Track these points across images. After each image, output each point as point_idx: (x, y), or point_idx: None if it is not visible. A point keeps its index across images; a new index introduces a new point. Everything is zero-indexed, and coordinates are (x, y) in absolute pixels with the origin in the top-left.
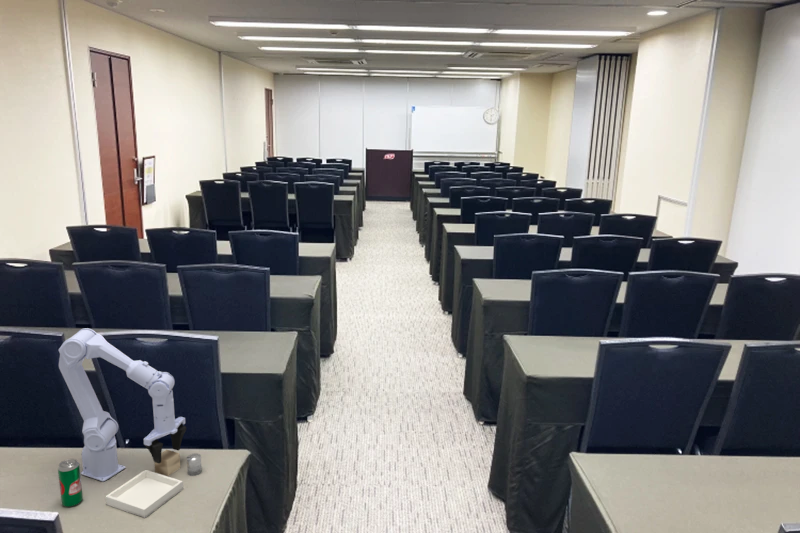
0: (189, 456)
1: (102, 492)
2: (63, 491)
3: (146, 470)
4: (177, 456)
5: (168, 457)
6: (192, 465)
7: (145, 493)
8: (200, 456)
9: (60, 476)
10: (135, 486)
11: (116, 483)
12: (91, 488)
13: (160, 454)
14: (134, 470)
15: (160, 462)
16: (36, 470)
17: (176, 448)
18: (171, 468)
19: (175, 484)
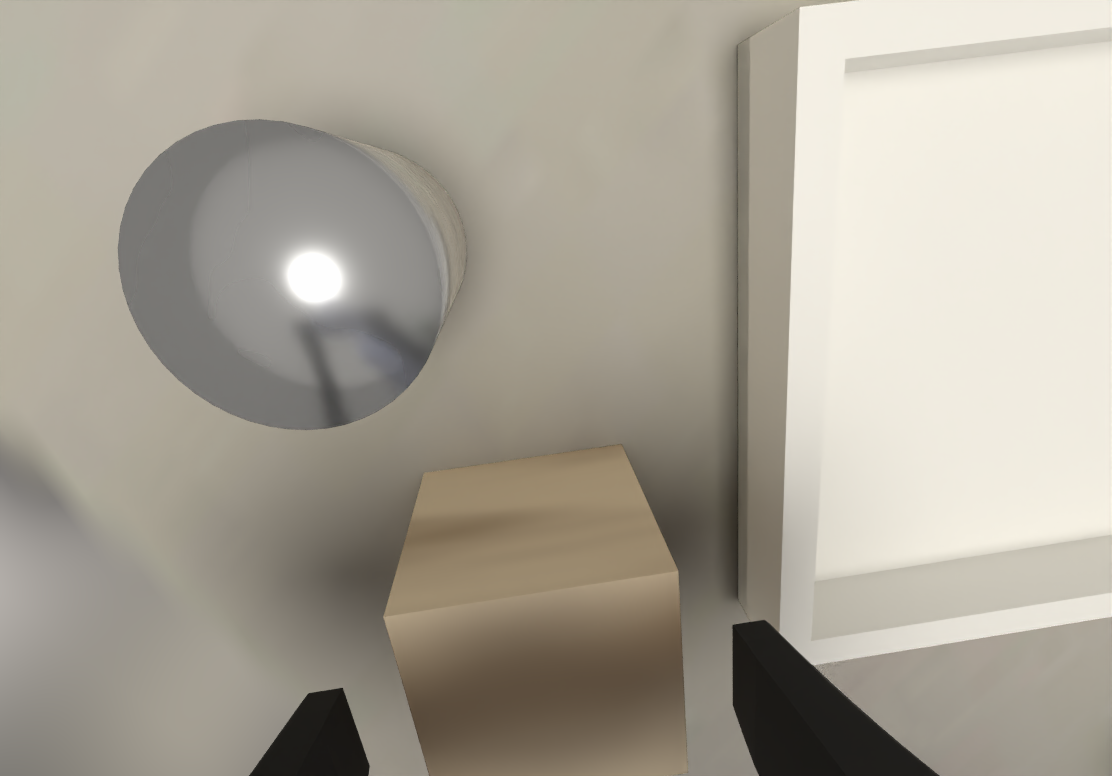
0: (334, 386)
1: (1046, 680)
2: None
3: None
4: (438, 583)
5: (578, 644)
6: (423, 191)
7: (1014, 358)
8: (157, 167)
9: None
10: (936, 541)
11: (910, 701)
12: (1020, 770)
13: (862, 757)
14: (701, 747)
15: (746, 623)
16: None
17: (343, 744)
18: (571, 488)
19: (921, 45)
